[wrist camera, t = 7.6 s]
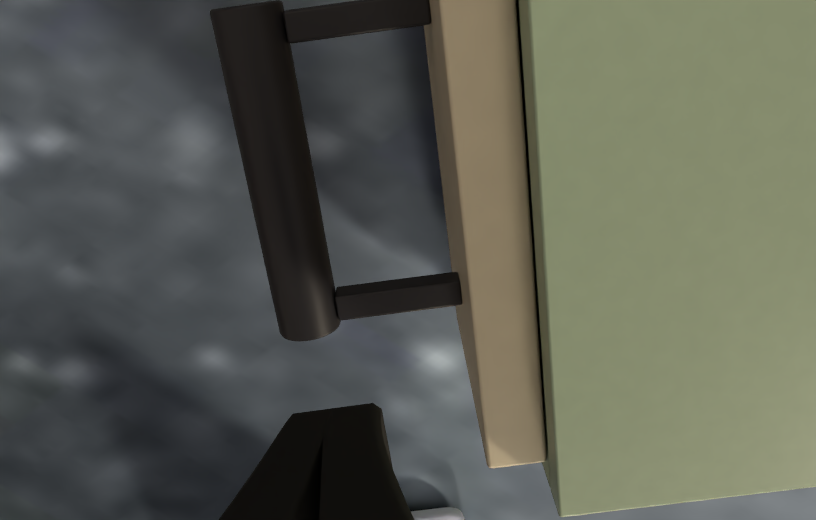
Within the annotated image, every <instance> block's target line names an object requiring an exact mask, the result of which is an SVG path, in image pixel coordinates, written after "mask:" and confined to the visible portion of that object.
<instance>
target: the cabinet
mask: <svg viewBox="0 0 816 520" xmlns="http://www.w3.org/2000/svg"><path fill="white" fill-rule="evenodd" d="M516 6H517V21H518V36H519V51H520V66H521V81H522V96H523V111H524V126H525V141H526V156H527V171H528V186H529V201H530V216H531V231H532V246H533V261H534V276H535V291H536V306H537V320H538V335H539V350H540V365H541V380H542V395H543V410H544V425H545V440H546V455H547V458H546V461H544V462H542V464H543V467H544V470H545V473H546V477H547V480H548V483H549V486H550V488H551V492H552V495H553V499H554V502H555V505H556V508H557V511H558V514H559V516H560V517H566V516H575V515H583V514H592V513H600V512H608V511H617V510H625V509H633V508H642V507H650V506H658V505H667V504H675V503H683V502H692V501H700V500H708V499H717V498H725V497H733V496H742V495H750V494H758V493H767V492H775V491H783V490H792V489H800V488H808V487H816V0H516Z"/></svg>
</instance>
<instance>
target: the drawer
mask: <svg viewBox="0 0 816 520" xmlns="http://www.w3.org/2000/svg"><path fill="white" fill-rule="evenodd" d="M210 17H211V21H212V26H213V30H214V35H215V39H216V44H217V48H218V53H219V58H220V62H221V67H222V71H223V76H224V80H225V85H226V89H227V94H228V98H229V103H230V108H231V112H232V117H233V121H234V126H235V130H236V135H237V139H238V144H239V149H240V153H241V158H242V162H243V167H244V171H245V176H246V180H247V185H248V189H249V194H250V199H251V203H252V208H253V212H254V217H255V221H256V226H257V230H258V235H259V240H260V244H261V249H262V253H263V258H264V262H265V267H266V271H267V276H268V280H269V285H270V290H271V294H272V299H273V303H274V308H275V312H276V317H277V321H278V326H279V331H280V334H281V335H282V336H283V337H284V338H285V339H288V340H292V341H309V340H314V339H318V338H321V337H324V336H326V335H328V334H330V333H332V332H333V331H335V330H336V329H337V328H338V327H339V325H340V321H341V320H347V319H355V318H363V317H371V316H379V315H386V314H394V313H402V312H410V311H418V310H426V309H434V308H441V307H449V306H456V313H457V320H458V325H459V330H460V334H461V339H462V344H463V349H464V354H465V359H466V364H467V369H468V374H469V378H470V383H471V388H472V393H473V398H474V403H475V408H476V413H477V418H478V422H479V427H480V432H481V437H482V442H483V447H484V452H485V457H486V462H487V465H488V467H489V468H498V467H506V466H514V465H522V464H531V463H539V462H544V461H546V458H547V455H546V440H545V425H544V410H543V395H542V380H541V365H540V350H539V335H538V320H537V306H536V291H535V276H534V261H533V246H532V231H531V216H530V201H529V186H528V171H527V156H526V141H525V126H524V111H523V96H522V81H521V66H520V51H519V36H518V21H517V6H516V0H357V1H349V2H342V3H335V4H328V5H320V6H313V7H306V8H298V9H291V10H286V11H284V7H283V2H282V1H281V0H276V1H268V2H261V3H254V4H247V5H239V6H232V7H225V8H218V9H212V10H210ZM423 25H424V32H425V41H426V49H427V58H428V67H429V76H430V84H431V93H432V102H433V111H434V120H435V128H436V137H437V146H438V155H439V163H440V172H441V181H442V190H443V199H444V207H445V216H446V225H447V234H448V242H449V251H450V260H451V269H452V272H451V273H443V274H435V275H427V276H420V277H412V278H404V279H396V280H388V281H381V282H373V283H365V284H357V285H349V286H342V287H337V288H336V292H335V286H334V281H333V275H332V270H331V264H330V259H329V253H328V248H327V242H326V237H325V232H324V226H323V221H322V215H321V210H320V204H319V199H318V193H317V188H316V182H315V177H314V171H313V166H312V160H311V155H310V149H309V144H308V138H307V133H306V127H305V122H304V116H303V111H302V105H301V100H300V95H299V89H298V84H297V78H296V73H295V67H294V62H293V56H292V51H291V45H290V43H298V42H306V41H313V40H320V39H328V38H335V37H342V36H350V35H357V34H364V33H372V32H379V31H386V30H394V29H401V28H408V27H416V26H423Z"/></svg>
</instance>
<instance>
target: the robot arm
mask: <svg viewBox="0 0 816 520" xmlns="http://www.w3.org/2000/svg"><path fill="white" fill-rule="evenodd" d="M219 520H464V515H463V513H462V512H461V511H460V510H459V509H457V508H454V507H444V508H435V509H427V510H419V511H410V509H409V507H408V505H407V503H406V500H405V498H404V496H403V493H402V491H401V488H400V486H399V483H398V481H397V479H396V476H395V474H394V471H393V468H392V462H391V457H390V452H389V446H388V441H387V436H386V430H385V425H384V420H383V415H382V409H381V408H379V407H378V406H376V405H375V404H374V403H370V404H363V405H355V406H347V407H340V408H332V409H325V410H317V411H310V412H302V413H294V414H292V415H291V417H290V418H289V419H288V420H287V422H286V423H285V425H284V426H283V428H282V429H281V431H280V432H279V434H278V435H277V437H276V438H275V440H274V441H273V443H272V444H271V446H270V447H269V449H268V450H267V452H266V453H265V455H264V456H263V458H262V459H261V461H260V462H259V464H258V465H257V467H256V468H255V470H254V471H253V473H252V474H251V476H250V477H249V479H248V480H247V481H246V483H245V484H244V485H243V487H242V488H241V490H240V491H239V492H238V494H237V495H236V497H235V498H234V499H233V501H232V502H231V504H230V505H229V506H228V508H227V509H226V511H225V512H224V513H223V515H222V516H221V517H220V519H219Z"/></svg>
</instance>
